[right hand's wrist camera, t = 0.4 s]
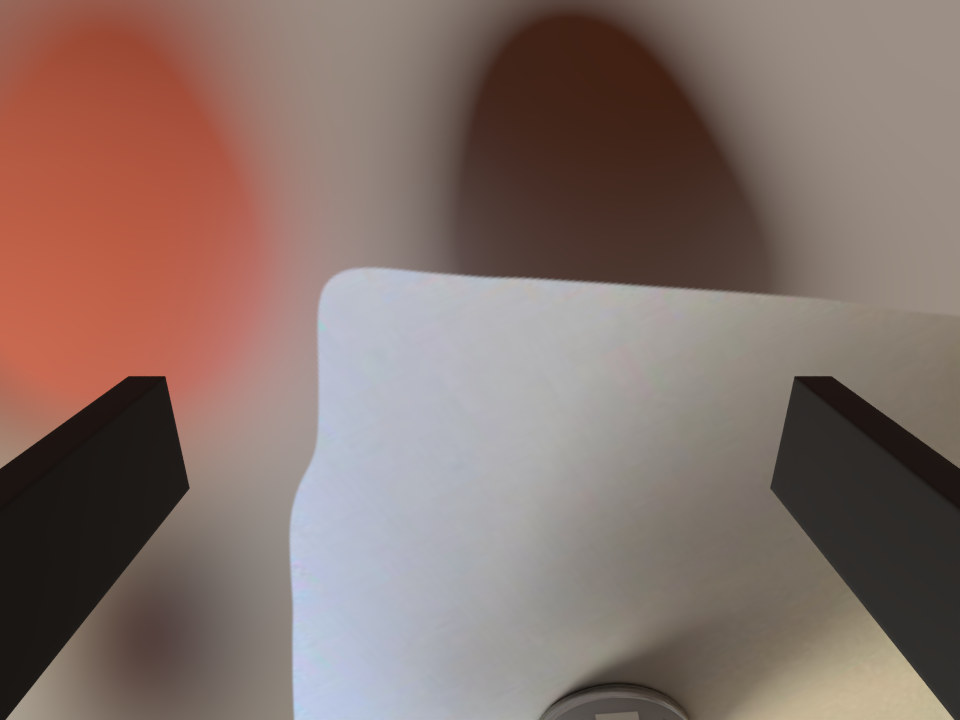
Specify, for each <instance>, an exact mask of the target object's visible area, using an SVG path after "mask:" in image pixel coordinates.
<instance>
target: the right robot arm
mask: <svg viewBox="0 0 960 720" xmlns="http://www.w3.org/2000/svg"><path fill="white" fill-rule="evenodd" d="M188 490H189V484H188V479H187V474H186V470H185V465H184V460H183V456H182V451H181V447H180V442H179V437H178V433H177V428H176V424H175V419H174V414H173V410H172V405H171V400H170V396H169V391H168V387H167V382H166V377H165V376H128V377H127V378H126V379H124V380H123V381H121V382H120V383H119V384H117V385H116V386H114V387H113V388H112V389H110V390H109V391H108V392H106V393H105V394H103V395H102V396H101V397H99V398H98V399H96V400H95V401H94V402H92V403H91V404H90V405H88V406H87V407H85V408H84V409H83V410H81V411H80V412H78V413H77V414H76V415H74V416H73V417H71V418H70V419H69V420H67V421H66V422H65V423H63V424H62V425H60V426H59V427H58V428H56V429H55V430H53V431H52V432H51V433H49V434H48V435H47V436H45V437H44V438H42V439H41V440H40V441H38V442H37V443H35V444H34V445H33V446H31V447H30V448H29V449H27V450H26V451H24V452H23V453H22V454H20V455H19V456H17V457H16V458H15V459H13V460H12V461H10V462H9V463H8V464H6V465H5V466H3V467H2V468H1V469H0V720H6V719H7V717H8V716H9V715H10V714H11V712H12V711H13V710H14V708H15V707H16V706H17V705H18V703H19V702H20V701H21V700H22V698H23V697H24V696H25V695H26V693H27V692H28V691H29V690H30V688H31V687H32V686H33V685H34V683H35V682H36V681H37V679H38V678H39V677H40V676H41V675H42V673H43V672H44V671H45V670H46V668H47V667H48V666H49V664H50V663H51V662H52V661H53V659H54V658H55V657H56V656H57V654H58V653H59V652H60V651H61V649H62V648H63V647H64V646H65V644H66V643H67V642H68V641H69V639H70V638H71V637H72V636H73V634H74V633H75V632H76V631H77V629H78V628H79V627H80V625H81V624H82V623H83V622H84V620H85V619H86V618H87V617H88V615H89V614H90V613H91V612H92V610H93V609H94V608H95V607H96V605H97V604H98V603H99V601H100V600H101V599H102V598H103V597H104V595H105V594H106V593H107V592H108V590H109V589H110V588H111V586H112V585H113V584H114V583H115V581H116V580H117V579H118V578H119V576H120V575H121V574H122V573H123V571H124V570H125V569H126V568H127V566H128V565H129V564H130V563H131V561H132V560H133V559H134V558H135V556H136V555H137V554H138V553H139V551H140V550H141V549H142V547H143V546H144V545H145V544H146V542H147V541H148V540H149V539H150V537H151V536H152V535H153V534H154V532H155V531H156V530H157V529H158V527H159V526H160V525H161V524H162V522H163V521H164V520H165V518H166V517H167V516H168V515H169V514H170V512H171V511H172V510H173V509H174V507H175V506H176V505H177V503H178V502H179V501H180V500H181V498H182V497H183V496H184V495H185V493H186V492H187V491H188ZM771 490H772V491H773V492H774V493H775V495H776V496H777V497H778V498H779V500H780V501H781V502H782V503H783V505H784V506H785V507H786V509H787V510H788V511H789V512H790V514H791V515H792V516H793V517H794V519H795V520H796V521H797V522H798V524H799V525H800V526H801V527H802V529H803V530H804V531H805V532H806V534H807V535H808V536H809V537H810V539H811V540H812V541H813V542H814V544H815V545H816V546H817V548H818V549H819V550H820V551H821V553H822V554H823V555H824V556H825V558H826V559H827V560H828V561H829V563H830V564H831V565H832V566H833V568H834V569H835V570H836V571H837V573H838V574H839V575H840V576H841V578H842V579H843V580H844V581H845V583H846V584H847V585H848V586H849V588H850V589H851V590H852V592H853V593H854V594H855V595H856V597H857V598H858V599H859V600H860V602H861V603H862V604H863V605H864V607H865V608H866V609H867V610H868V612H869V613H870V614H871V615H872V617H873V618H874V619H875V620H876V622H877V623H878V624H879V625H880V627H881V628H882V629H883V631H884V632H885V633H886V634H887V636H888V637H889V638H890V639H891V641H892V642H893V643H894V644H895V646H896V647H897V648H898V649H899V651H900V652H901V653H902V654H903V656H904V657H905V658H906V659H907V661H908V662H909V663H910V664H911V666H912V667H913V668H914V670H915V671H916V672H917V673H918V675H919V676H920V677H921V678H922V680H923V681H924V682H925V683H926V685H927V686H928V687H929V688H930V690H931V691H932V692H933V693H934V695H935V696H936V697H937V698H938V700H939V701H940V702H941V703H942V705H943V706H944V707H945V708H946V710H947V711H948V712H949V714H950V715H951V716H952V717H953V719H954V720H960V469H959V468H958V467H957V466H955V465H954V464H952V463H951V462H950V461H948V460H947V459H945V458H944V457H943V456H941V455H940V454H938V453H937V452H936V451H934V450H933V449H932V448H930V447H929V446H927V445H926V444H925V443H923V442H922V441H920V440H919V439H918V438H916V437H915V436H914V435H912V434H911V433H909V432H908V431H907V430H905V429H904V428H902V427H901V426H900V425H898V424H897V423H895V422H894V421H893V420H891V419H890V418H889V417H887V416H886V415H884V414H883V413H882V412H880V411H879V410H877V409H876V408H875V407H873V406H872V405H871V404H869V403H868V402H866V401H865V400H864V399H862V398H861V397H859V396H858V395H857V394H855V393H854V392H852V391H851V390H850V389H848V388H847V387H846V386H844V385H843V384H841V383H840V382H839V381H837V380H836V379H834V378H833V377H832V376H795V377H794V382H793V387H792V391H791V396H790V400H789V405H788V410H787V414H786V419H785V423H784V428H783V433H782V437H781V442H780V447H779V451H778V456H777V460H776V465H775V470H774V474H773V479H772V483H771ZM540 720H689V719H688V717H687V715H686V714H685V712H684V711H683V710H682V708H681V707H680V706H679V705H678V704H677V703H676V702H674V701H673V700H672V699H670V698H669V697H667V696H665V695H664V694H661V693H659V692H657V691H654V690H652V689H648V688H645V687H640V686H635V685H624V684H613V685H602V686H596V687H592V688H588V689H584V690H581V691H578V692H576V693H573V694H571V695H569V696H567V697H565V698H563V699H562V700H560V701H558V702H557V703H556V704H554V705H553V706H552V707H551V708H550V709H548V710H547V711H546V713H545V714H544V715H543V716H542V717H541V719H540Z"/></svg>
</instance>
